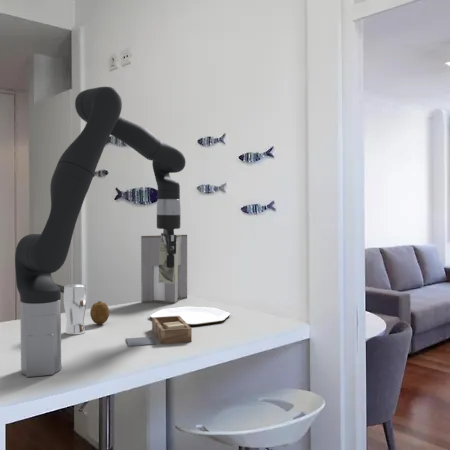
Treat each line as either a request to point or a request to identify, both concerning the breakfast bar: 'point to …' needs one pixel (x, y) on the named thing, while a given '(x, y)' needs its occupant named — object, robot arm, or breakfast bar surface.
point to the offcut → (173, 325)
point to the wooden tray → (171, 330)
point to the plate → (194, 314)
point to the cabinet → (150, 272)
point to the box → (164, 272)
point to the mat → (140, 341)
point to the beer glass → (75, 308)
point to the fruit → (99, 313)
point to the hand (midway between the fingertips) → (168, 266)
